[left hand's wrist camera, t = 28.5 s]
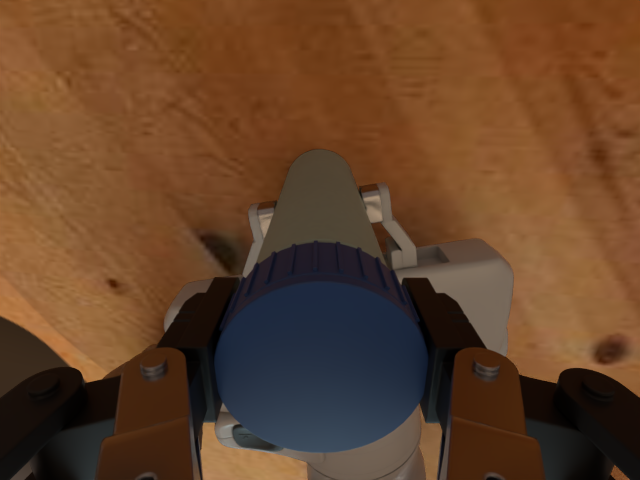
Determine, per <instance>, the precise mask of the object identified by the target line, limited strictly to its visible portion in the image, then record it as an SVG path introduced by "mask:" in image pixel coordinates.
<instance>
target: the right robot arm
mask: <svg viewBox="0 0 640 480" xmlns="http://www.w3.org/2000/svg"><path fill="white" fill-rule="evenodd" d="M359 193H360V196H361V198H362V201H363V204H364V206H365V209H366V212H367V215H368V217H369V220H370V223H378V222H381V224H382V225H383V226H384V228H385V229H386V230H387V231H388V233H389V234H390V235H391V237H387V238H386V239H385V243H386V252H383V253H382V255H383V257H384V260H385V263H386V265H387V268H388V269H389V270H390V271H391V270H394V271H395V273H396V275H397V278H398V280H399V282H400V284H401V283H402V279H403V278H428V279H429V281H430V283H431V284H432V286H433V288H434V290H435V291H436V293H446V294H447V295H449V296H450V297H451V298H453V299H454V300H456V301H457V302H458V304H459V305H460V307H461V308H462V310H463V312H464V314H465V315H466V316H467V318H468V319H469V323H471V324H472V326H473V327H474V329H475V330H476V332H477V334H478V335H479V337H480V338H481V340H482V341H483V343H484V344H485V346H486V348H487V349H489V350H492V351H495V352H497V353H499V354H501V355H503V356H506V354H507V350H508V330H507V324H508V319H509V314H510V308H511V301H512V294H513V283H514V274H513V270H512V268H511V266H510V264H509V263H508V262H507V261H506V259H505V258H504V257H503V256H502V255H501V254H500V253H499V252H498V251H496V250H495V249H494V248H493V247H491V246H490V245H489V244H487V243H486V242H485V241H483V240H481V239H478V238H475V239H467V240H460V241H454V242H447V243H441V244H434V245H428V246H421V247H416V246H415V245H414V243H413V241H412V240H411V238H410V236H409V235H408V233H407V232H406V231H405V229H404V228H403V227H402V226H401V224H400V223H399V222H398V221H397V219H396V218H395V217H394V216H393V214H392V210H391V201H390V193H389V189H388V186H387V185H386V183H385V182H382V183H376V184H370V185H365V186H359ZM276 205H277V201H269V202H262V203H255V204H251V206H250V208H249V209H248V216H249V222H250V226H251V230H252V234H253V238H254V241H253V243H252V246H251V249H250V252H249V255H248V258H247V261H246V264H245V267H244V270H243V273H242V274H240V275H234V276H227V277H239V279H240V281H241V279H242V278H243V277H245V278H246V277H247V275H248V274H249V273H250V272H251V271H252V270H253V267H254V265H255V264H256V261H257V258H258V255H259V252H260V250H261V247H262V244H263V241H264V238H265V236H266V233H267V230H268V227H269V224H270V222H271V219H272V216H273V213H274V210H275V208H276ZM212 281H213V279H208V280H201V281H194V282H190V283H187V284H186V285H185V286H184V287H183V288H182V289H181V290H180V292H179V293H178V294H177V296H176V297H175V299H174V300H173V302H172V303H171V305H170V307H169V309H168V311H167V313H166V315H165V319H164V330H165V332H166V331H167V329H168V328H169V326H170V324H171V323H172V322H173V320H174V318H175V316H176V315H177V313H179V310H180V308H181V307H182V305H183V304H184V302H185V301H186V300H188V299H189V298H190V297H192V296H193V295H194V294H196V293H206V291H207V290H208V288H209V286H210V284H211V282H212ZM215 433H216V436H217V439H218V440H219V442H220V443H221V444H223V445H224V446H227V447H231V448H237V449H247V450H255V451H262V452H269V453H274V454H279V455H284V456H288V457H292V458H295V459H298V460H301V461H305V462H307V478H308V480H426V474H425V465H424V459H423V456H422V453H421V450H420V448H419V444H420V438H421V420H420V409H419V404H418V406H417V407H416V409H415V410H414V412H413V413H412V414H411V415H410V416H409V417H408V419H407V420H406V421H405V422H404V423H403V424H401V425H400V426H399V427H398V428H397V429H395V430H394V431H393V432H391V433H389V434H388V435H386V436H385V437H383V438H381V439H379V440H377V441H375V442H373V443H370V444H368V445H365V446H362V447H359V448H355V449H352V450H347V451H341V452H332V453H309V452H301V451H295V450H291V449H286V448H283V447H280V446H277V445H274V444H272V443H269V442H267V441H265V440H263V439H261V438H259V437H258V436H256V435H254V434H252V433H251V432H250V431H248V430H247V429H246V428H244V427H243V426H242V425H241V424H240V423H239V422H238V421H237V420H235V419H234V417H233V416H232V415H231V414H230V412H229V411H228V410H227V408H226V407H225V405H224V404H223V403H222V407H221V410H220V413H219V416H218V420H217V422H215Z"/></svg>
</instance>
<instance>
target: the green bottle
mask: <svg viewBox="0 0 640 480" xmlns="http://www.w3.org/2000/svg"><path fill="white" fill-rule="evenodd" d="M315 240H318V242H325V243H336V241H337V242H340V244H343V245H346V246H350V247H354V248H356V249H357V248H358V247H360V248H361V249H362V251H364V252H366V253H368V254H369V255H371V256H373V257H375V258H376V257H379V258H380V260H381V263H383V264H384V265H385V266H386V267H387V265H386V263H385V260H384V257H383V255H382V252H381V249H380V247H379V244H378V241H377V239H376V236H375V233H374V231H373V228H372V225H371V223H370V220H369V217H368V215H367V212H366V209H365V206H364V204H363V201H362V198H361V196H360V193H359V190H358V188H357V185H356V182H355V180H354V177H353V174H352V172H351V169H350V167H349V165H348V164H347V162H346V161H345V160H344V159H343V158H342V157H341V156H339V155H338V154H336V153H334V152H332V151H329V150H324V149H316V150H311V151H308V152H306V153H304V154H302V155H300V156H299V157H298V158H297V159H296V160H295V161H294V162H293V163H292V165H291V167H290V169H289V171H288V174H287V177H286V180H285V183H284V185H283V188H282V191H281V194H280V196H279V199H278V202H277V205H276V208H275V210H274V213H273V216H272V219H271V222H270V224H269V227H268V230H267V233H266V236H265V238H264V241H263V244H262V247H261V250H260V252H259V255H258V258H257V261H256V263H257V262H258V263H260V262H262V261H263V260H265V259H266V258H268V257H269V256H271V253H272V252H274V251H275V252H276V253H277V252H279V251H281V250H283V249H286V248H289V247H291V246H292V244H296V245H300V244H305V243H314V241H315Z"/></svg>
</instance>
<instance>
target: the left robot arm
mask: <svg viewBox="0 0 640 480" xmlns="http://www.w3.org/2000/svg"><path fill="white" fill-rule="evenodd" d="M239 284H240V279H239V277H215V278H214V279H213V281H212V282H211V284H210V286H209V288H208V290H207V291H206V293H196V294H194V295H193V296H192V297H190V298H189V299H188V300H186V301H185V302H184V304H183V305H182V307H181V308H180V310H179V313H177V315H176V316H175V318H174V320H173V322H172V323H171V324H170V326H169V328H168V329H167V331H166V332H165V334H164V335H163V337H162V339H161V340H160V342H159V343H158V345H157V347H156V348H155V349H151V350H148V351H145V352H143V353H141V354H139V355H137V356H135V357H134V358H132V359H131V360H130V361H129V362H128V363H127V364H126V365H125V366H124V368H123V370H122V373H121V375H119V376H115V377H111V378H107V379H102V380H97V381H93V382H88V383H84V380H83V376H82V374H81V372H80V371H79V370H77V369H75V368H72V367H58V368H53V369H49V370H45V371H42V372H40V373H37V374H35V375H33V376H31V377H29V378H27V379H25V380H24V381H22V382H21V383H19V384H18V385H17V386H15V387H14V388H13V389H11V390H10V391H9V392H7V393H6V394H5V395H3V396H2V397H1V398H0V480H10V479H11V478H12V477H13V476H14V475H15V474H16V473H17V472H18V471H19V470H20V469H21V468H22V467H23V466H24V465H25V464H26V463H27V462H28V461H29V464H30V466H31V469H32V471H33V472H32V473H31V474H30V475H29V476H28V477H27V478H26V479H25V480H203V472H202V463H201V453H200V444H199V437H198V435H199V432H200V429H201V427H202V424H203V422H217V420H218V416H219V413H220V410H221V407H222V403H223V402H222V400H221V398H220V396H219V393H218V388H217V381H216V373H215V365H214V353H215V349H216V345H217V342H218V340H219V337H220V335H221V332H222V331H219V328H220V325H221V323H222V321H223V318H224V316H225V313H226V311H227V308H228V306H229V304H230V301H231V299H232V296H233V294H234V293H236V291H237V289H238V286H239ZM403 285H405V287H406V289H407V292H408V294H409V296H410V299H411V301H412V303H413V306H414V308H415V310H416V313H417V315H418V317H419V320H420V321H419V322H418V323H419V326H420V328H421V330H422V333H423V335H424V340H425V343H426V346H427V349H428V356H429V359H428V367H427V375H426V382H425V390H424V395H423V397H422V399H421V401H420V406H421V409H422V412H423V415H424V419H425V422H426V423H440V425H441V428H442V437H441V444H440V453H439V463H438V472H437V480H615V479H614V478H613V477H612V476H611V475H610V474H611V472H612V469H613V467H614V464H615V465H616V466H617V467H618V468H619V469H620V470H621V471H622V472H623V473H624V474H625V475H626V476H627V477H628V478H629V479H630V480H640V398H639V397H638V396H637V395H635V394H634V393H633V392H631V391H630V390H629V389H627V388H626V387H625V386H623V385H622V384H620V383H619V382H618V381H616V380H614V379H612V378H611V377H608V376H606V375H604V374H602V373H599V372H596V371H593V370H588V369H583V368H570V369H566V370H564V371H563V372H562V373H561V374H560V376H559V379H558V382H557V384H556V383H552V382H547V381H542V380H538V379H533V378H529V377H525V376H522V375H519V373H518V370H517V368H516V366H515V365H514V364H513V363H512V362H511V361H510V360H509V359H508V358H506V357H505V356H503V355H501V354H499V353H497V352H495V351H492V350H489V349H487V348H486V346H485V344H484V343H483V341H482V340H481V338H480V337H479V335H478V334H477V332H476V330H475V329H474V327H473V326H472V324H471V323H469V319H468V318H467V316H466V315H465V314H464V312H463V310H462V308H461V307H460V305H459V304H458V302H457V301H456V300H454V299H453V298H451V297H450V296H449V295H447V294H446V293H436V291H435V290H434V288H433V286H432V284H431V283H430V281H429V279H428V278H403V279H402V283H401V286H403Z"/></svg>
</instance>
